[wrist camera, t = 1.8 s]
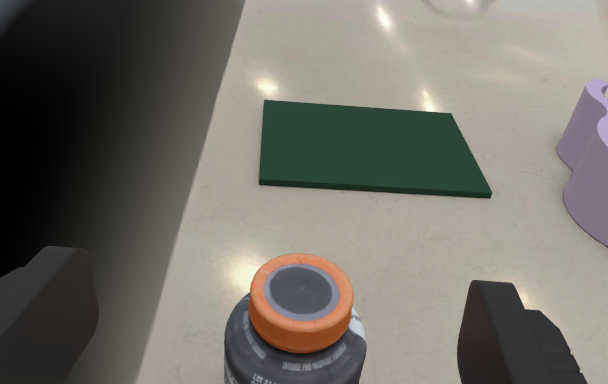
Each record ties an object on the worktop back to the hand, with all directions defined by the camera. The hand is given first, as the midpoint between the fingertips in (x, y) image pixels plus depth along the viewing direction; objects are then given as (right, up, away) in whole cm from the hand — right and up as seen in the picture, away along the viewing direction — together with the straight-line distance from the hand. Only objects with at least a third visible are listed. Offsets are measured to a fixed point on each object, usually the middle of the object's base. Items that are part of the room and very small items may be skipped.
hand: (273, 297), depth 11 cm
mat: (+7, +7, +39) cm, 40 cm away
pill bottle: (0, -10, +16) cm, 19 cm away
